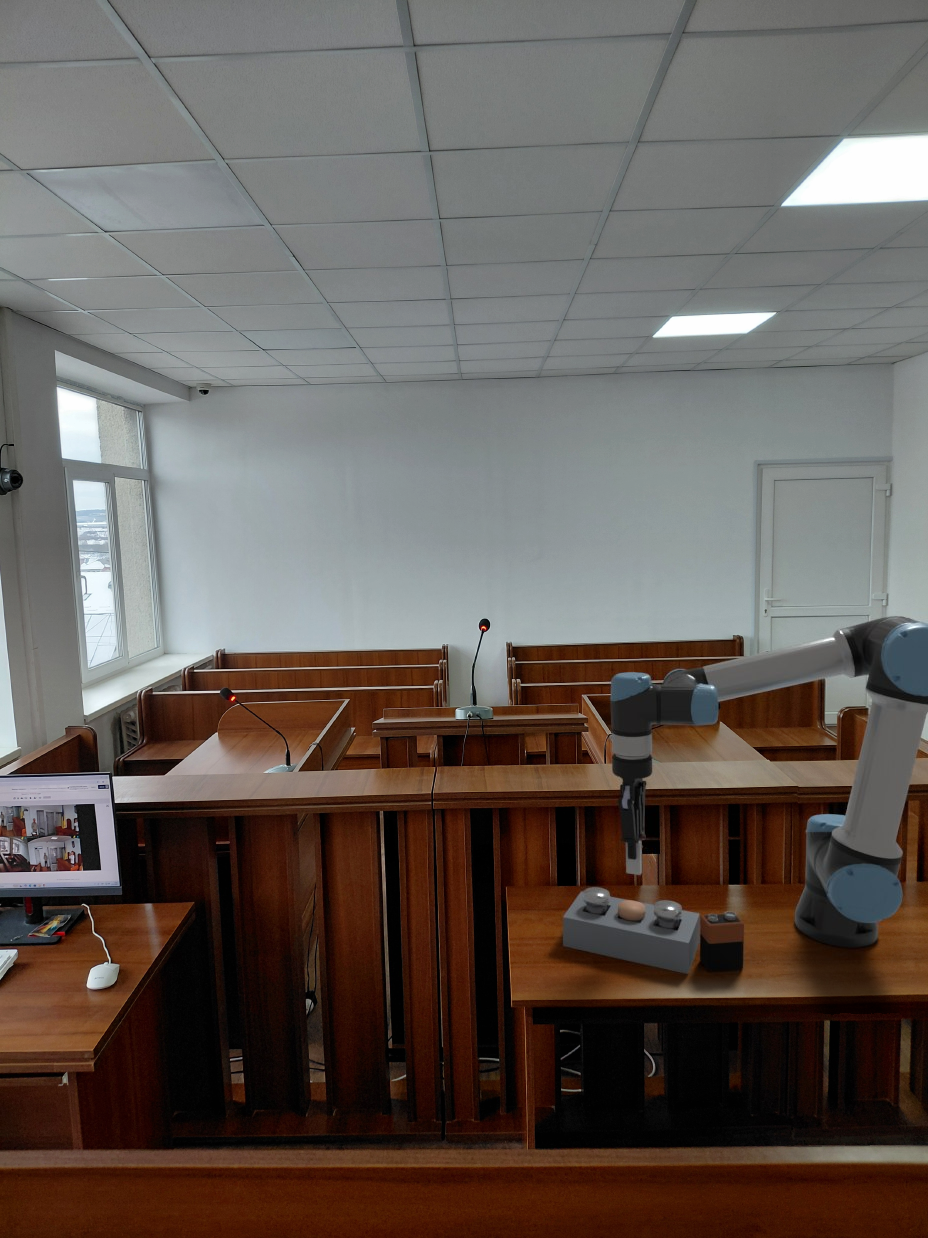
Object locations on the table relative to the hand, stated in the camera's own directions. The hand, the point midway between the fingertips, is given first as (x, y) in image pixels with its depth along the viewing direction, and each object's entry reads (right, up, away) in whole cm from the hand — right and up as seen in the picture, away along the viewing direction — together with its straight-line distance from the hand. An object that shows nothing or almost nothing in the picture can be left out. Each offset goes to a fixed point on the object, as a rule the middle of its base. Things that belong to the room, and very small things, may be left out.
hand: (634, 872), depth 151 cm
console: (0, -15, +2) cm, 15 cm away
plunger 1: (-7, -12, +4) cm, 14 cm away
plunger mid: (0, -13, +2) cm, 14 cm away
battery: (+15, -16, -6) cm, 22 cm away
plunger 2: (+6, -12, -2) cm, 14 cm away
